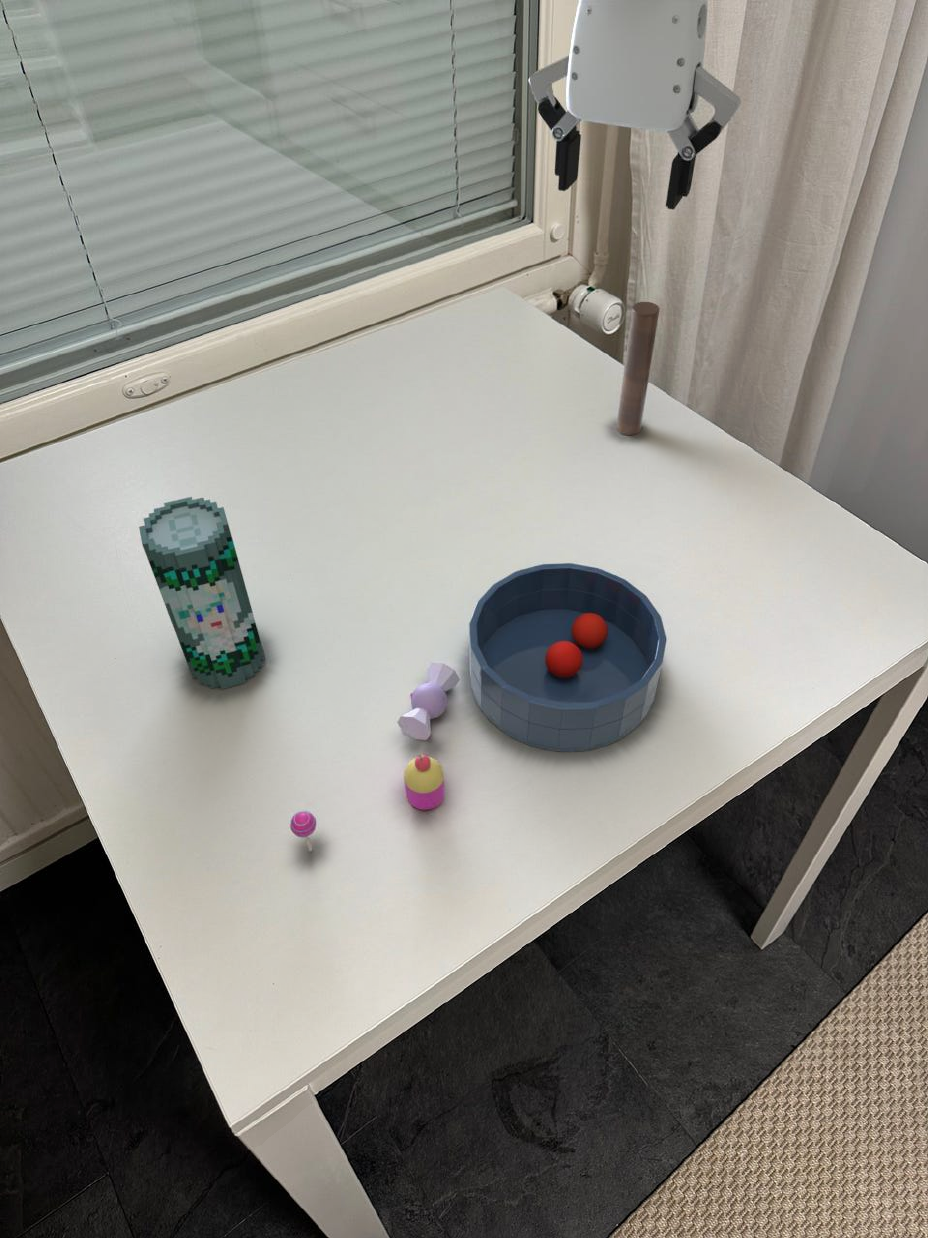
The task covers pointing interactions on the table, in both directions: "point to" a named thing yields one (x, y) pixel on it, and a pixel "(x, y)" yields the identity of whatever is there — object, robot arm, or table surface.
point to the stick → (637, 367)
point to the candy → (422, 771)
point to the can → (203, 590)
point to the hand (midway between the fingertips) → (620, 193)
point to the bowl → (543, 615)
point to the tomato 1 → (563, 659)
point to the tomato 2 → (589, 630)
